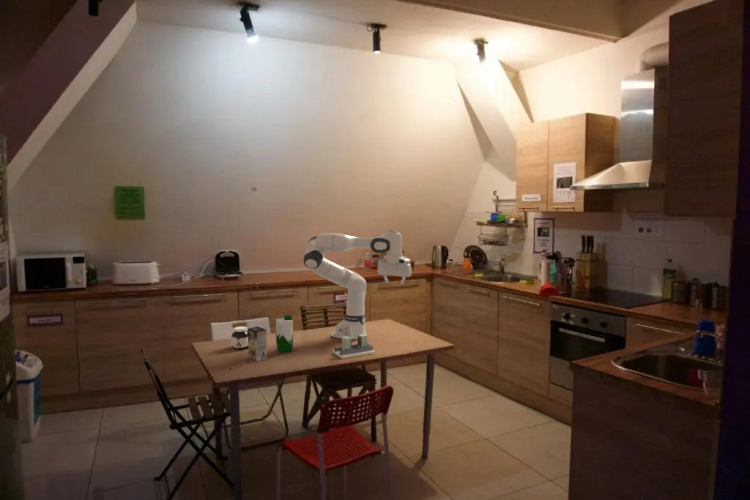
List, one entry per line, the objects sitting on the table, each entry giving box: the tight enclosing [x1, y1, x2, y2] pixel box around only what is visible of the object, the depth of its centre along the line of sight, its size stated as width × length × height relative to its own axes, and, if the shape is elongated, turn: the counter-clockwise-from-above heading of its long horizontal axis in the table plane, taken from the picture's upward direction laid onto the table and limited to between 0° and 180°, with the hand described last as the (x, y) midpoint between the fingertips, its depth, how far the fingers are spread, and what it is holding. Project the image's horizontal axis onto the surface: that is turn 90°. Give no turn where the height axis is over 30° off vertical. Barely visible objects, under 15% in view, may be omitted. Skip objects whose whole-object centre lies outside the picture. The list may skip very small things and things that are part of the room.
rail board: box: [332, 334, 376, 360], centre depth 280 cm, size 20×12×10 cm, turn 120°
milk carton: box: [275, 314, 294, 354], centre depth 283 cm, size 9×9×20 cm
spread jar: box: [230, 326, 248, 350], centre depth 290 cm, size 12×11×12 cm
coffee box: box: [247, 326, 268, 362], centre depth 271 cm, size 9×6×16 cm
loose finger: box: [341, 336, 353, 351], centre depth 278 cm, size 4×4×8 cm
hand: (394, 283), depth 290 cm, fingers open, 8 cm apart
